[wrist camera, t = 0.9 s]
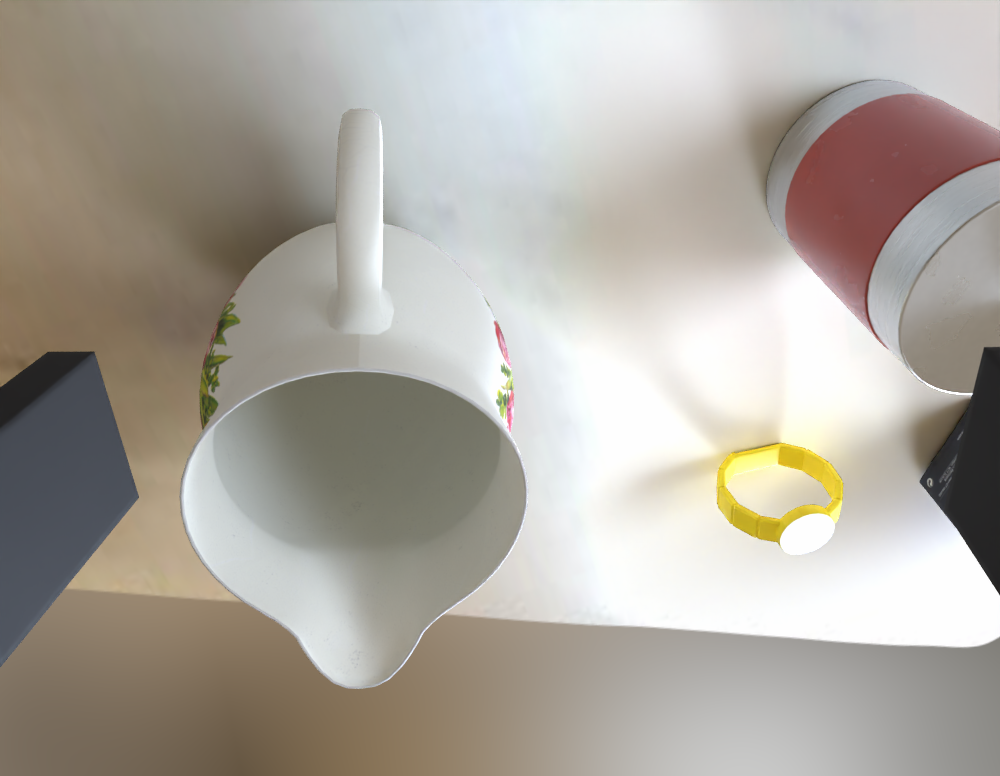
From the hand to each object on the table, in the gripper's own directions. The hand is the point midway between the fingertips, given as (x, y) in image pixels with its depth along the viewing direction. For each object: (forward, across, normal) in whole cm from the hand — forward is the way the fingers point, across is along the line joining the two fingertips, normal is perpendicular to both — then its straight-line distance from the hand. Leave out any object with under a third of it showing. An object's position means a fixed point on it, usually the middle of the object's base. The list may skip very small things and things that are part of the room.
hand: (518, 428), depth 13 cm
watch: (+28, +10, -18) cm, 34 cm away
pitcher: (+22, -8, -5) cm, 24 cm away
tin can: (+26, +12, -2) cm, 28 cm away
